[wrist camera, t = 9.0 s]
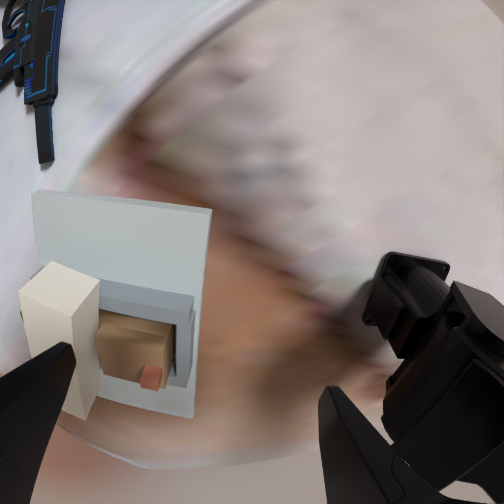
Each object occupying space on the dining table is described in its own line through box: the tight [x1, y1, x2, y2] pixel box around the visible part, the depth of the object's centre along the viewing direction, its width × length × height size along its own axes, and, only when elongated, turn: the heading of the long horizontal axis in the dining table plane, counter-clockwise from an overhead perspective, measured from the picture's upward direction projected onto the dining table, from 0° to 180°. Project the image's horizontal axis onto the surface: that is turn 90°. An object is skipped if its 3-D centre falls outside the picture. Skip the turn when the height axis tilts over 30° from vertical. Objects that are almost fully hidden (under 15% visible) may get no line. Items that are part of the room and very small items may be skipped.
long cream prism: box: [19, 261, 100, 421], centre depth 17 cm, size 4×12×4 cm, turn 161°
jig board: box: [31, 189, 212, 419], centre depth 21 cm, size 14×22×3 cm, turn 171°
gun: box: [0, 0, 65, 164], centre depth 12 cm, size 24×3×15 cm
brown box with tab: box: [20, 309, 175, 391], centre depth 19 cm, size 12×4×6 cm, turn 81°
